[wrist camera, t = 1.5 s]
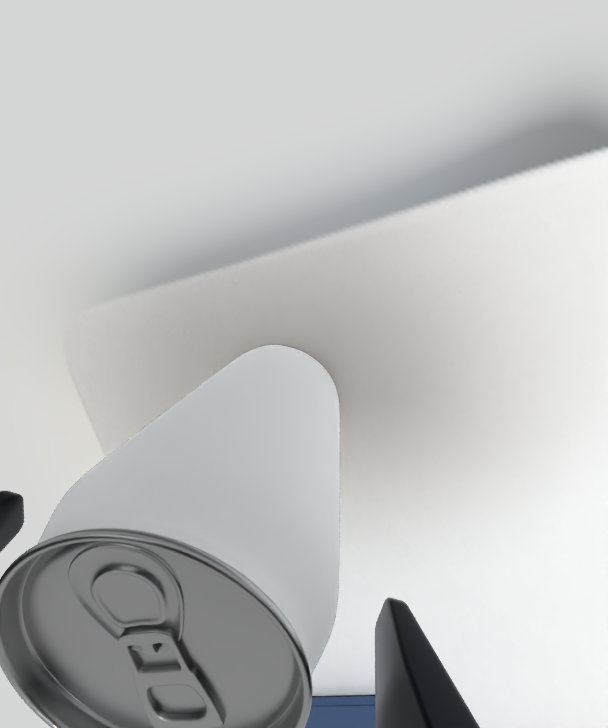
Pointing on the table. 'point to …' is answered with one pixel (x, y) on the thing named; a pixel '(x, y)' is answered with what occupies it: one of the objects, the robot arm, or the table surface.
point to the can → (190, 563)
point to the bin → (342, 712)
